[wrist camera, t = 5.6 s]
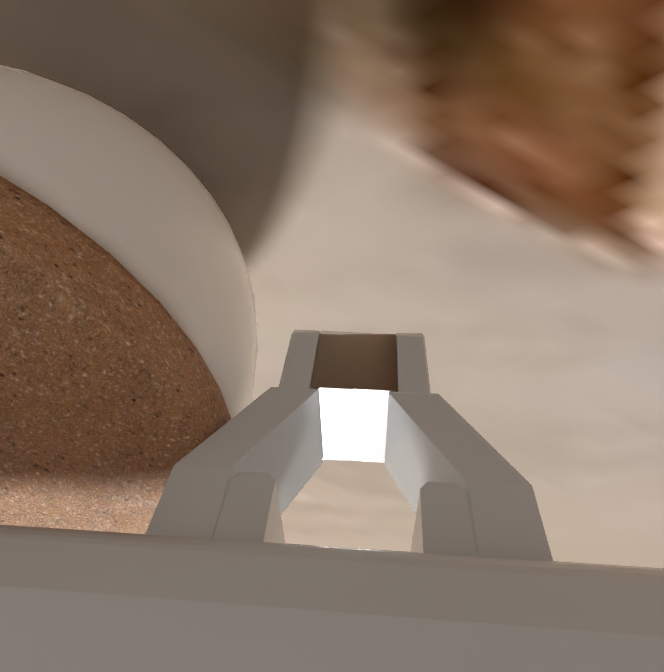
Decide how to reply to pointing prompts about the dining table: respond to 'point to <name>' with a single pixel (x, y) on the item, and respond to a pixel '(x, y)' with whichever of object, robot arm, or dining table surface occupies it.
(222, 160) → the dining table surface
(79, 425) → the lidded jar
